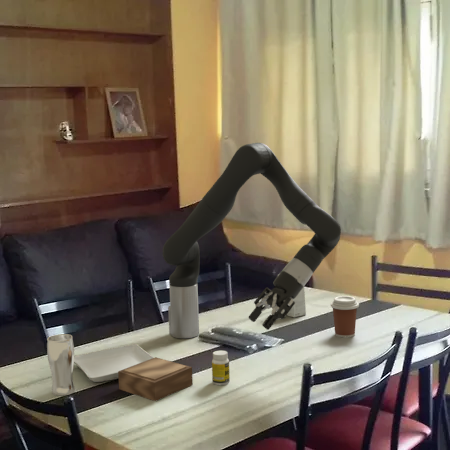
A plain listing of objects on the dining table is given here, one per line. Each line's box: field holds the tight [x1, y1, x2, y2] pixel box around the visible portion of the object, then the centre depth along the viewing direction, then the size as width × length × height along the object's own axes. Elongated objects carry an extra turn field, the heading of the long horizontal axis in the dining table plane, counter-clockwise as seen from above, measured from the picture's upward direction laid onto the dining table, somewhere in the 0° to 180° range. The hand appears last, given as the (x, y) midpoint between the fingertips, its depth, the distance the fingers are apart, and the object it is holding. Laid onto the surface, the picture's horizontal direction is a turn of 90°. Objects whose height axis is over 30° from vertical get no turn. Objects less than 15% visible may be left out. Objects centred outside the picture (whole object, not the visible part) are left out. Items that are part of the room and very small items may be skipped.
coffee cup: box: [330, 295, 360, 338], centre depth 238 cm, size 9×9×12 cm
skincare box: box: [277, 273, 307, 318], centre depth 264 cm, size 8×6×15 cm
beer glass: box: [46, 333, 76, 397], centre depth 196 cm, size 7×7×15 cm
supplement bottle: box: [211, 350, 231, 386], centre depth 200 cm, size 5×5×8 cm
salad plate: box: [74, 343, 155, 383], centre depth 213 cm, size 21×21×3 cm
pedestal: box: [118, 357, 194, 402], centre depth 198 cm, size 14×14×5 cm
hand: (257, 323), depth 203 cm, fingers open, 8 cm apart
